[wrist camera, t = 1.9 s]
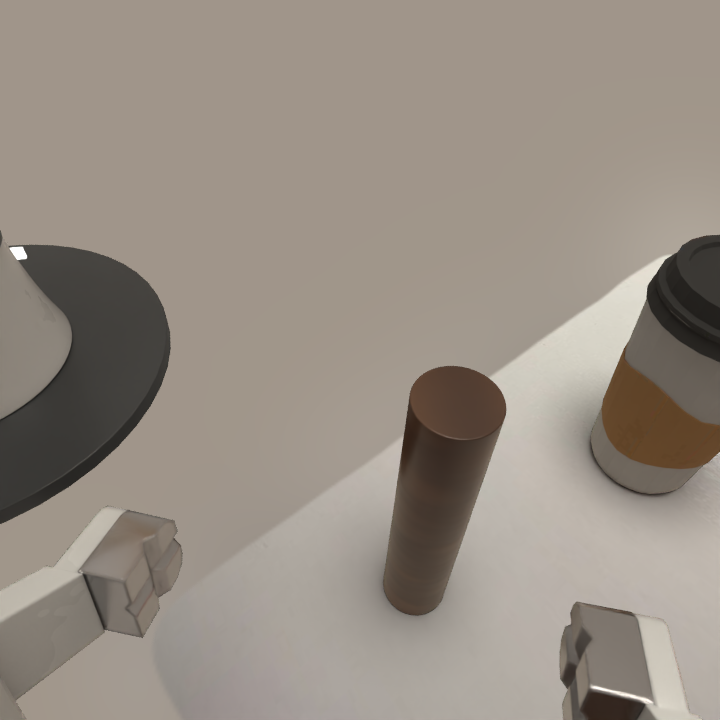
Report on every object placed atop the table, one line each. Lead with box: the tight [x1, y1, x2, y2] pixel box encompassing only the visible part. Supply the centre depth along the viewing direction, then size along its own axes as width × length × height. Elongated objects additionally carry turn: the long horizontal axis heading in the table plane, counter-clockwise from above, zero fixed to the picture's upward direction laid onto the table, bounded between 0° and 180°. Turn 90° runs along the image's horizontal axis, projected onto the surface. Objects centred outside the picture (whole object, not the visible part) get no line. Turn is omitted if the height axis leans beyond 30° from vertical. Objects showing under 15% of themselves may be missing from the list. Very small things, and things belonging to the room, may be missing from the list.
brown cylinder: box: [383, 366, 506, 615], centre depth 26 cm, size 3×3×16 cm
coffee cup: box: [591, 235, 720, 494], centre depth 32 cm, size 8×8×15 cm
